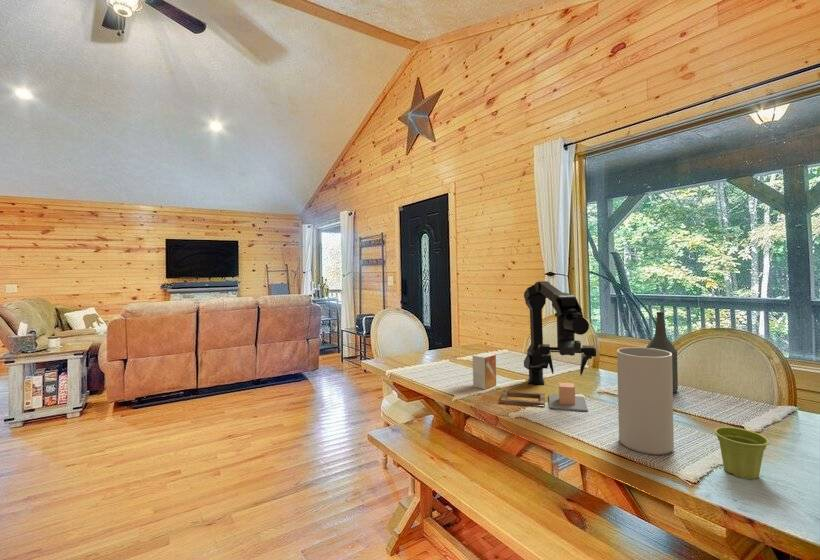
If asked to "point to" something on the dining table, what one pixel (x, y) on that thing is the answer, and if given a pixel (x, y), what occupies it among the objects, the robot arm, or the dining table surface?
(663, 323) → the bottle
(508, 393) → the holder
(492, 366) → the small box
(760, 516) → the dining table surface
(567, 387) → the block
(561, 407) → the mat
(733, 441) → the plant pot
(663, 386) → the cylinder vase
